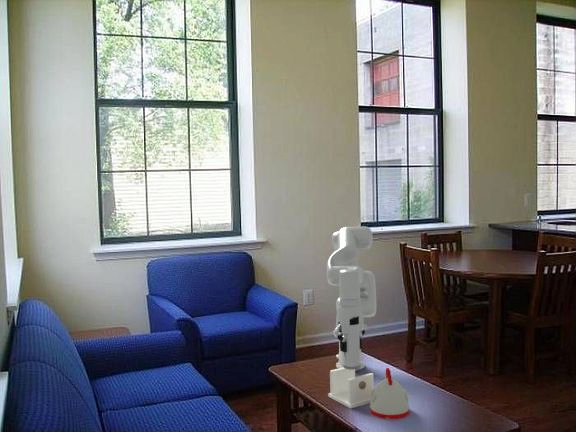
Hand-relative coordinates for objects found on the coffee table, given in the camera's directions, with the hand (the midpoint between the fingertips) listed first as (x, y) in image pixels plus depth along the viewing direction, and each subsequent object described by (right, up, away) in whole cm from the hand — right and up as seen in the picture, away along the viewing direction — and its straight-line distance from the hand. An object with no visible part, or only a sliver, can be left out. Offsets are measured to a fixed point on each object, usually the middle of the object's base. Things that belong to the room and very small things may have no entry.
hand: (350, 349), depth 213 cm
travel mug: (0, -7, 0) cm, 7 cm away
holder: (+1, -19, +1) cm, 19 cm away
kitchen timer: (+12, -20, -11) cm, 26 cm away
